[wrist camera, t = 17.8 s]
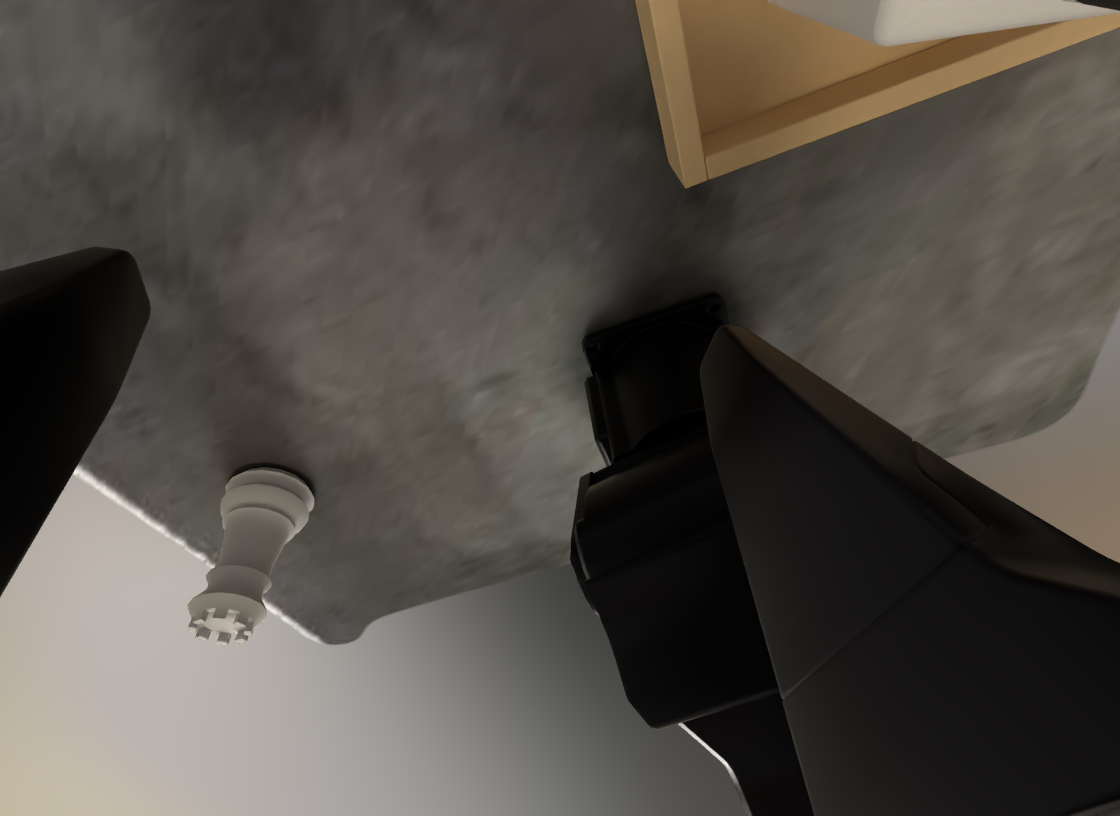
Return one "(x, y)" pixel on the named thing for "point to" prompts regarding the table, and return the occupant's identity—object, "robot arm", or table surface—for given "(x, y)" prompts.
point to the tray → (802, 76)
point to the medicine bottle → (940, 16)
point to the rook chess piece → (249, 551)
